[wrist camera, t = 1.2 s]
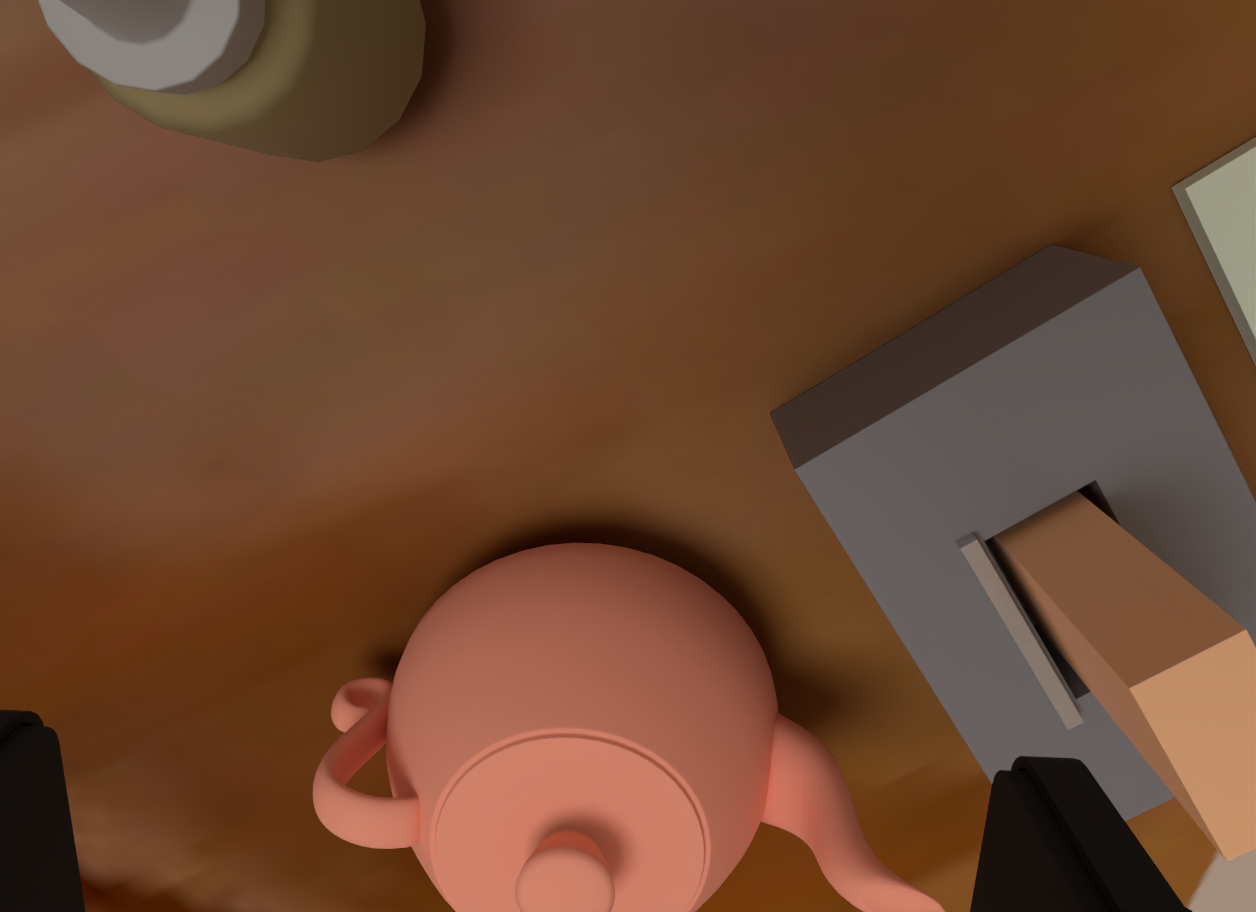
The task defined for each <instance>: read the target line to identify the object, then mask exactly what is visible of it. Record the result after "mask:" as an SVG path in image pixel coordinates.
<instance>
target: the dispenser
mask: <svg viewBox="0 0 1256 912" xmlns="http://www.w3.org/2000/svg"><path fill="white" fill-rule="evenodd" d="M770 415H771V417H772V420H773V422H774V424H775V426H776V429H777V431H778V433H779V435H780V438H781V440H782V442H783V445H784V447H785V449H786V451H787V454H788V456H789V458H790V461H791V463H792V465H793V467H794V470H795V471H796V473H797V474H798V476H799V478H800V479H801V481H802V482H803V484H804V486H805V487H806V489H807V490H808V492H809V494H810V495H811V497H812V498H813V500H814V502H815V503H816V505H817V506H818V508H819V510H820V511H821V513H822V514H823V516H824V517H825V519H826V521H827V522H828V524H829V525H830V527H831V529H832V530H833V532H834V533H835V535H836V537H837V538H838V540H839V541H840V543H841V545H842V546H843V548H844V549H845V551H846V552H847V554H848V556H849V557H850V559H851V560H852V562H853V564H854V565H855V567H856V568H857V570H858V572H859V573H860V575H861V576H862V578H863V580H864V581H865V583H866V584H867V586H868V588H869V589H870V591H871V592H872V594H873V595H874V597H875V599H876V600H877V602H878V603H879V605H880V607H881V608H882V610H883V611H884V613H885V615H886V616H887V618H888V619H889V621H890V623H891V624H892V626H893V627H894V629H895V631H896V632H897V634H898V635H899V637H900V638H901V640H902V642H903V643H904V645H905V646H906V648H907V650H908V651H909V653H910V654H911V656H912V658H913V659H914V661H915V662H916V664H917V666H918V667H919V669H920V670H921V672H922V673H923V675H924V677H925V678H926V680H927V681H928V683H929V685H930V686H931V688H932V689H933V691H934V693H935V694H936V696H937V697H938V699H939V701H940V702H941V704H942V705H943V707H944V709H945V710H946V712H947V713H948V715H949V716H950V718H951V720H952V721H953V723H954V724H955V726H956V728H957V729H958V731H959V732H960V734H961V736H962V737H963V739H964V740H965V742H966V744H967V745H968V747H969V748H970V750H971V751H972V753H973V755H974V756H975V758H976V759H977V761H978V763H979V764H980V766H981V767H982V769H983V771H984V772H985V774H986V775H987V777H988V779H989V780H990V782H991V783H993V779H994V776H995V775H996V773H997V772H998V771H1000V770H1011V767H1012V764H1013V762H1014V761H1015V759H1016V758H1018V757H1020V756H1035V757H1057V758H1075V759H1078V760H1081V761H1082V762H1083V763H1084V764H1085V765H1086V766H1087V768H1088V769H1089V771H1090V772H1091V774H1092V775H1093V776H1094V778H1095V779H1096V781H1097V782H1098V784H1099V785H1100V786H1101V788H1102V789H1103V791H1104V792H1105V794H1106V795H1107V796H1108V798H1109V799H1110V801H1111V802H1112V804H1113V805H1114V806H1115V808H1116V809H1117V811H1118V812H1119V814H1120V815H1121V817H1122V818H1123V819H1124V821H1127V820H1129V819H1131V818H1133V817H1135V816H1137V815H1139V814H1141V813H1143V812H1145V811H1148V810H1150V809H1152V808H1154V807H1156V806H1158V805H1160V804H1162V803H1164V802H1166V801H1168V800H1170V799H1173V798H1175V796H1174V795H1173V794H1172V792H1171V791H1170V790H1169V789H1168V787H1167V786H1166V785H1165V784H1164V782H1163V781H1162V780H1161V779H1160V777H1159V776H1158V775H1157V774H1156V772H1155V771H1154V770H1153V769H1152V767H1151V766H1150V765H1149V764H1148V762H1147V761H1146V760H1145V759H1144V757H1143V756H1142V755H1141V754H1140V752H1139V751H1138V750H1137V749H1136V747H1135V746H1134V745H1133V744H1132V742H1131V741H1130V740H1129V739H1128V737H1127V736H1126V735H1125V734H1124V732H1123V731H1122V730H1121V729H1120V727H1119V726H1118V725H1117V724H1116V722H1115V721H1114V720H1113V719H1112V717H1111V716H1110V715H1109V714H1108V712H1107V711H1106V710H1105V709H1104V707H1103V706H1102V705H1101V704H1100V702H1099V701H1098V700H1097V699H1096V697H1095V696H1094V695H1093V694H1092V692H1091V691H1090V690H1089V689H1088V687H1087V686H1086V685H1085V684H1084V682H1083V681H1082V680H1081V679H1080V677H1079V676H1078V675H1077V674H1076V672H1075V671H1074V670H1073V669H1072V667H1071V666H1070V665H1069V664H1068V662H1067V661H1066V660H1065V659H1064V657H1063V656H1062V655H1061V654H1060V652H1059V651H1058V650H1057V649H1056V647H1055V646H1054V645H1053V644H1052V642H1051V641H1050V640H1049V639H1048V637H1047V636H1046V635H1045V634H1044V632H1043V631H1042V630H1041V629H1040V627H1039V626H1038V625H1037V624H1036V622H1035V621H1034V620H1033V619H1032V617H1031V616H1030V615H1029V613H1028V611H1027V609H1026V608H1025V606H1024V604H1023V603H1022V601H1021V599H1020V597H1019V596H1018V594H1017V592H1016V591H1015V589H1014V587H1013V585H1012V584H1011V582H1010V580H1009V578H1008V577H1007V575H1006V573H1005V572H1004V570H1003V568H1002V566H1001V565H1000V563H999V561H998V560H997V558H996V556H995V554H994V553H993V551H992V549H991V548H990V546H989V544H988V542H987V541H986V540H987V539H989V538H991V537H993V536H994V535H996V534H998V533H1000V532H1002V531H1004V530H1005V529H1007V528H1009V527H1011V526H1013V525H1014V524H1016V523H1018V522H1020V521H1022V520H1024V519H1025V518H1027V517H1029V516H1031V515H1033V514H1034V513H1036V512H1038V511H1040V510H1042V509H1044V508H1045V507H1047V506H1049V505H1051V504H1053V503H1054V502H1056V501H1058V500H1060V499H1062V498H1064V497H1065V496H1067V495H1069V494H1071V493H1073V492H1074V491H1076V490H1077V491H1078V492H1079V493H1080V494H1082V495H1083V496H1084V497H1085V498H1087V499H1088V500H1089V501H1090V502H1091V503H1093V504H1094V505H1095V506H1096V507H1098V508H1099V509H1100V510H1101V511H1102V512H1104V513H1105V514H1106V515H1107V516H1109V517H1110V518H1111V519H1112V520H1113V521H1115V522H1116V523H1117V524H1118V525H1120V526H1121V527H1122V528H1123V529H1124V530H1126V531H1127V532H1128V533H1129V534H1131V535H1132V536H1133V537H1134V538H1135V539H1137V540H1138V541H1139V542H1140V543H1142V544H1143V545H1144V546H1145V547H1146V548H1148V549H1149V550H1150V551H1151V552H1152V553H1154V554H1155V555H1156V556H1157V557H1159V558H1160V559H1161V560H1162V561H1163V562H1165V563H1166V564H1167V565H1168V566H1170V567H1171V568H1172V569H1173V570H1174V571H1176V572H1177V573H1178V574H1179V575H1181V576H1182V577H1183V578H1184V579H1185V580H1187V581H1188V582H1189V583H1190V584H1192V585H1193V586H1194V587H1195V588H1196V589H1198V590H1199V591H1200V592H1201V593H1203V594H1204V595H1205V596H1206V597H1207V598H1209V599H1210V600H1211V601H1212V602H1214V603H1215V604H1216V605H1217V606H1218V607H1220V608H1221V609H1222V610H1223V611H1225V612H1226V613H1227V614H1228V615H1229V616H1231V617H1232V618H1233V619H1234V620H1235V621H1237V622H1238V623H1239V624H1240V625H1242V626H1243V627H1244V628H1245V629H1246V630H1247V632H1248V634H1249V636H1250V638H1251V639H1252V641H1253V643H1254V645H1255V647H1256V501H1255V499H1254V497H1253V495H1252V493H1251V491H1250V489H1249V487H1248V485H1247V483H1246V481H1245V479H1244V477H1243V475H1242V473H1241V471H1240V469H1239V467H1238V465H1237V463H1236V461H1235V459H1234V457H1233V455H1232V453H1231V451H1230V449H1229V447H1228V445H1227V443H1226V440H1225V438H1224V436H1223V434H1222V432H1221V430H1220V428H1219V426H1218V424H1217V422H1216V420H1215V418H1214V416H1213V414H1212V412H1211V410H1210V408H1209V406H1208V404H1207V402H1206V400H1205V398H1204V396H1203V394H1202V392H1201V390H1200V388H1199V386H1198V384H1197V382H1196V380H1195V378H1194V376H1193V374H1192V372H1191V369H1190V367H1189V365H1188V363H1187V361H1186V359H1185V357H1184V355H1183V353H1182V351H1181V349H1180V347H1179V345H1178V343H1177V341H1176V339H1175V337H1174V335H1173V333H1172V331H1171V329H1170V327H1169V325H1168V323H1167V321H1166V319H1165V317H1164V315H1163V313H1162V311H1161V309H1160V307H1159V305H1158V303H1157V301H1156V298H1155V296H1154V294H1153V292H1152V290H1151V288H1150V286H1149V284H1148V282H1147V280H1146V278H1145V276H1144V274H1143V272H1142V270H1141V268H1140V267H1138V266H1134V265H1130V264H1126V263H1122V262H1118V261H1115V260H1111V259H1107V258H1103V257H1099V256H1095V255H1091V254H1087V253H1083V252H1080V251H1076V250H1072V249H1068V248H1064V247H1060V246H1056V245H1052V244H1051V245H1049V246H1047V247H1046V248H1044V249H1042V250H1041V251H1039V252H1037V253H1036V254H1034V255H1032V256H1031V257H1029V258H1027V259H1026V260H1024V261H1022V262H1021V263H1019V264H1017V265H1016V266H1014V267H1012V268H1011V269H1009V270H1007V271H1006V272H1004V273H1002V274H1001V275H999V276H997V277H996V278H994V279H992V280H991V281H989V282H987V283H986V284H984V285H982V286H981V287H979V288H977V289H976V290H974V291H972V292H971V293H969V294H967V295H966V296H964V297H962V298H961V299H959V300H957V301H956V302H954V303H953V304H951V305H949V306H948V307H946V308H944V309H943V310H941V311H939V312H938V313H936V314H934V315H933V316H931V317H929V318H928V319H926V320H924V321H923V322H921V323H919V324H918V325H916V326H914V327H913V328H911V329H909V330H908V331H906V332H904V333H903V334H901V335H899V336H898V337H896V338H894V339H893V340H891V341H889V342H888V343H886V344H884V345H883V346H881V347H879V348H878V349H876V350H874V351H873V352H871V353H869V354H868V355H866V356H864V357H863V358H861V359H859V360H858V361H856V362H854V363H853V364H851V365H849V366H848V367H846V368H844V369H843V370H841V371H840V372H838V373H836V374H835V375H833V376H831V377H830V378H828V379H826V380H825V381H823V382H821V383H820V384H818V385H816V386H815V387H813V388H811V389H810V390H808V391H806V392H805V393H803V394H801V395H800V396H798V397H796V398H795V399H793V400H791V401H790V402H788V403H786V404H785V405H783V406H781V407H780V408H778V409H776V410H775V411H773V412H771V413H770Z"/></svg>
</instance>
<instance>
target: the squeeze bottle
mask: <svg viewBox="0 0 1256 912" xmlns="http://www.w3.org/2000/svg"><path fill="white" fill-rule="evenodd" d="M38 2H39V5H40V7H41V10H42V12H43V15H44V18H45V20H46V23H47V25H48V28H49V29H50V30H51V31H52V32H53V34H54V35H55V36H56V37H57V38H58V40H59V41H60V42H61V43H62V44H63V46H64V47H65V48H66V49H67V50H68V52H69V53H70V54H71V55H72V56H73V58H74V59H75V60H76V61H77V62H78V63H79V64H81V65H82V66H84V67H86V68H87V69H89V70H90V71H91V73H92V74H93V75H94V76H95V77H96V79H97V80H98V81H99V82H100V84H101V85H102V86H103V87H104V88H105V90H106V91H107V92H108V93H109V94H110V96H111V97H112V98H113V99H114V100H115V101H117V102H119V103H120V104H122V105H124V106H125V107H127V108H129V109H130V110H132V111H134V112H136V113H137V114H139V115H141V116H142V117H144V118H146V119H147V120H149V121H151V122H152V123H154V124H156V125H157V126H159V127H161V128H165V129H169V130H173V131H177V132H181V133H185V134H189V135H193V136H197V137H201V138H206V139H210V140H214V141H218V142H222V143H226V144H230V145H234V146H238V147H242V148H246V149H250V150H254V151H258V152H262V153H266V154H270V155H277V156H283V157H289V158H295V159H302V160H308V161H314V162H320V161H323V160H327V159H331V158H335V157H339V156H343V155H346V154H350V153H354V152H358V151H362V150H364V149H365V148H366V147H367V146H369V145H370V144H371V143H372V142H373V141H375V140H376V139H377V138H378V137H380V136H381V135H382V134H383V133H384V132H386V131H387V130H388V129H389V128H391V127H392V126H393V125H394V124H395V123H397V122H398V121H399V120H400V118H401V116H402V114H403V112H404V110H405V108H406V106H407V104H408V102H409V100H410V98H411V96H412V94H413V92H414V90H415V88H416V86H417V84H418V82H419V80H420V78H421V76H422V66H423V54H424V43H425V31H426V21H425V18H424V14H423V11H422V7H421V4H420V0H38Z"/></svg>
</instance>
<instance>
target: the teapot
mask: <svg viewBox="0 0 1256 912" xmlns="http://www.w3.org/2000/svg"><path fill="white" fill-rule="evenodd" d="M331 716H332V720H333V723H334V725H335V726H336V727H337V728H338V729H339V730H340V731H343V732H345V733H344V734H343V735H342V736H341V737H340V738H339V739H338V740H337V741H336V742H335V743H334V744H333V745H332V746H331V748H330V749H329V750H328V752H327V753H326V754H325V756H324V757H323V759H322V761H321V762H320V764H319V767H318V769H317V771H316V775H315V779H314V783H313V802H314V807H315V810H316V813H317V815H318V817H319V819H320V821H321V822H322V823H323V825H324V826H325V827H326V828H327V829H328V830H330V831H331V832H332V833H333V834H335V835H336V836H338V837H340V838H342V839H344V840H346V841H348V842H351V843H354V844H357V845H360V846H365V847H371V848H385V849H392V848H404V847H409V846H412V848H413V850H414V852H415V854H416V856H417V858H418V860H419V861H420V863H421V865H422V866H423V868H424V870H425V871H426V873H427V874H428V876H429V877H430V879H431V881H432V882H433V884H434V885H435V887H436V888H437V889H438V891H439V892H440V894H441V895H442V896H443V898H444V899H445V900H446V901H447V902H448V903H449V905H450V906H451V907H452V908H453V909H454V910H455V911H456V912H695V911H696V910H697V909H698V908H699V907H700V906H701V905H702V904H703V903H704V902H705V901H706V900H707V899H708V898H709V897H710V896H711V895H712V894H713V893H714V892H715V891H716V890H717V889H718V888H719V887H720V886H721V884H722V883H723V882H724V881H725V879H726V878H727V877H728V876H729V874H730V873H731V872H732V870H733V869H734V868H735V866H736V865H737V864H738V862H739V861H740V860H741V858H742V857H743V855H744V853H745V851H746V850H747V848H748V846H749V845H750V843H751V841H752V839H753V837H754V835H755V833H756V831H757V829H758V826H759V824H760V822H764V823H767V824H770V825H774V826H777V827H780V828H782V829H784V830H786V831H789V832H791V833H793V834H795V835H796V836H798V837H800V838H801V839H802V840H803V841H804V842H806V843H807V844H808V845H809V847H810V848H811V849H812V851H813V852H814V854H815V856H816V859H817V861H818V863H819V865H820V867H821V870H822V872H823V873H824V875H825V877H826V878H827V880H828V881H829V883H830V884H831V885H832V886H833V887H834V888H835V889H836V891H837V892H838V893H839V894H840V895H841V896H843V897H844V898H845V899H846V900H848V901H849V902H850V903H851V904H853V905H854V906H855V907H857V908H859V909H860V910H862V911H864V912H945V911H944V909H943V908H942V906H941V905H940V904H939V903H938V902H937V901H936V900H935V899H933V898H932V897H931V896H930V895H928V894H927V893H925V892H924V891H922V890H920V889H918V888H916V887H915V886H913V885H911V884H910V883H908V882H906V881H905V880H903V879H902V878H900V877H898V876H897V875H895V874H894V873H892V872H891V871H890V870H889V869H888V868H887V867H886V866H885V865H884V864H883V863H882V862H880V861H879V860H878V859H877V857H876V856H875V854H874V853H873V851H872V850H871V849H870V847H869V846H868V844H867V842H866V840H865V838H864V835H863V833H862V831H861V828H860V826H859V823H858V820H857V816H856V813H855V810H854V807H853V803H852V800H851V796H850V793H849V790H848V787H847V785H846V782H845V779H844V776H843V774H842V772H841V770H840V768H839V766H838V764H837V762H836V760H835V759H834V757H833V755H832V754H831V753H830V752H829V750H828V749H827V748H826V747H825V746H824V745H823V743H822V742H821V741H820V740H819V739H818V738H816V737H815V736H814V735H812V734H811V733H810V732H808V731H807V730H806V729H804V728H803V727H802V726H800V725H798V724H797V723H795V722H793V721H791V720H790V719H788V718H786V717H784V716H782V715H781V714H779V713H778V704H777V697H776V691H775V687H774V682H773V678H772V674H771V670H770V667H769V665H768V662H767V660H766V657H765V654H764V652H763V650H762V648H761V646H760V644H759V642H758V641H757V639H756V637H755V635H754V634H753V632H752V630H751V629H750V627H749V626H748V625H747V623H746V622H745V621H744V619H743V618H742V617H741V616H740V614H739V613H738V612H737V610H736V609H735V608H734V607H732V606H731V605H730V604H729V603H728V602H727V601H726V600H725V599H724V598H723V597H722V596H721V595H720V594H719V593H718V592H717V591H715V590H714V589H713V588H711V587H710V586H709V585H707V584H706V583H705V582H704V581H702V580H701V579H699V578H698V577H696V576H695V575H693V574H691V573H689V572H688V571H686V570H684V569H682V568H681V567H679V566H677V565H675V564H673V563H671V562H668V561H666V560H664V559H661V558H659V557H656V556H654V555H651V554H648V553H644V552H641V551H637V550H634V549H630V548H626V547H619V546H613V545H606V544H597V543H565V544H554V545H546V546H541V547H537V548H532V549H527V550H523V551H520V552H517V553H514V554H512V555H509V556H506V557H503V558H500V559H498V560H495V561H493V562H491V563H489V564H487V565H485V566H483V567H481V568H479V569H477V570H475V571H473V572H472V573H471V574H469V575H468V576H466V577H465V578H463V579H462V580H460V581H459V582H457V583H456V584H454V585H453V586H452V587H451V588H450V589H449V590H448V591H447V592H446V593H444V594H443V595H442V596H441V597H440V598H439V599H438V600H437V601H436V602H435V603H434V604H433V605H432V607H431V608H430V609H429V610H428V611H427V613H426V614H425V615H424V616H423V617H422V619H421V620H420V622H419V624H418V625H417V627H416V629H415V630H414V632H413V633H412V635H411V637H410V639H409V641H408V643H407V646H406V648H405V650H404V653H403V655H402V657H401V660H400V662H399V665H398V668H397V670H396V673H395V677H394V681H393V684H392V683H391V682H390V681H388V680H385V679H382V678H376V677H368V678H360V679H355V680H352V681H349V682H347V683H346V684H345V685H343V686H342V687H341V689H340V690H339V691H338V692H337V694H336V697H335V699H334V701H333V703H332V711H331ZM385 743H386V751H387V769H388V774H389V779H390V784H391V789H392V794H393V798H386V797H377V796H371V795H367V794H363V793H360V792H357V791H355V790H352V789H351V788H349V787H347V786H345V784H346V783H347V782H348V780H349V779H350V778H351V777H352V776H353V775H354V774H355V773H356V772H357V771H358V770H359V769H360V768H361V767H362V766H363V765H364V764H365V763H366V762H367V761H368V760H369V759H370V758H371V757H372V756H373V755H374V754H375V753H376V752H377V751H378V750H379V749H380V748H381V747H382V746H383V745H384V744H385Z"/></svg>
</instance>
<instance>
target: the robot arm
mask: <svg viewBox="0 0 1256 912" xmlns="http://www.w3.org/2000/svg"><path fill="white" fill-rule="evenodd" d="M0 912H85V906H84V899H83V893H82V886H81V880H80V874H79V867H78V861H77V854H76V848H75V841H74V835H73V828H72V822H71V816H70V809H69V803H68V796H67V790H66V783H65V777H64V771H63V764H62V758H61V751H60V745H59V740H58V736H57V734H56V732H55V731H54V730H53V729H52V728H49V727H44V725H43V721H42V720H41V718H40V717H39V716H38V714H36V713H33V712H31V711H15V710H0ZM970 912H1192V911H1191V910H1189V909H1187V908H1186V907H1184V905H1183V904H1182V902H1181V901H1180V900H1179V898H1178V897H1177V895H1176V894H1175V892H1174V891H1173V890H1172V888H1171V887H1170V885H1169V884H1168V882H1167V881H1166V880H1165V878H1164V877H1163V875H1162V874H1161V872H1160V871H1159V869H1158V868H1157V867H1156V865H1155V864H1154V862H1153V861H1152V859H1151V858H1150V857H1149V855H1148V854H1147V852H1146V851H1145V849H1144V848H1143V847H1142V845H1141V844H1140V842H1139V841H1138V839H1137V838H1136V837H1135V835H1134V834H1133V832H1132V831H1131V829H1130V828H1129V827H1128V825H1127V824H1126V822H1125V821H1124V819H1123V818H1122V817H1121V815H1120V814H1119V812H1118V811H1117V809H1116V808H1115V806H1114V805H1113V804H1112V802H1111V801H1110V799H1109V798H1108V796H1107V795H1106V794H1105V792H1104V791H1103V789H1102V788H1101V786H1100V785H1099V784H1098V782H1097V781H1096V779H1095V778H1094V776H1093V775H1092V774H1091V772H1090V771H1089V769H1088V768H1087V766H1086V765H1085V764H1084V763H1083V762H1082V761H1081V760H1078V759H1075V758H1057V757H1035V756H1020V757H1018V758H1016V759H1015V761H1014V762H1013V764H1012V767H1011V770H1000V771H998V772H997V773H996V775H995V776H994V779H993V783H992V789H991V794H990V800H989V806H988V812H987V817H986V823H985V829H984V835H983V840H982V846H981V852H980V858H979V863H978V869H977V875H976V881H975V886H974V892H973V898H972V904H971V909H970Z"/></svg>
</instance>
